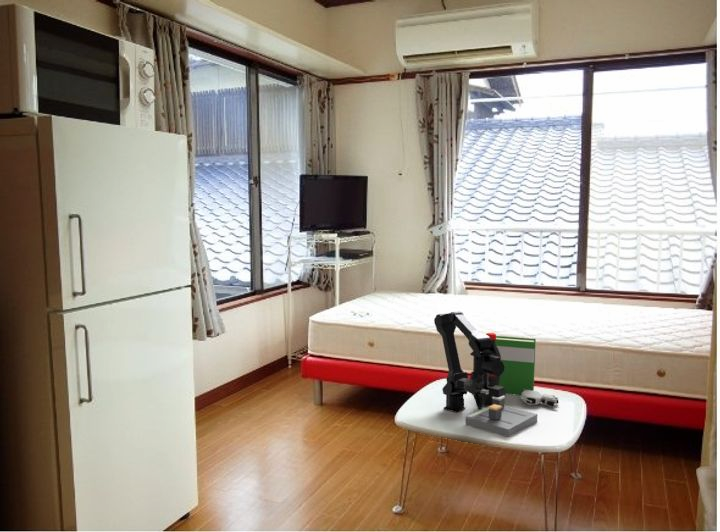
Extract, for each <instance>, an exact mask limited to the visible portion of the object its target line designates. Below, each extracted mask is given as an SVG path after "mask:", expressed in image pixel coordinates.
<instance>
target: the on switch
mask: <svg viewBox="0 0 720 532" xmlns="http://www.w3.org/2000/svg"><path fill="white" fill-rule="evenodd" d="M505 399H506V396H505V395H503V396H501V397H499V398H496V397H492V405H494V404H496V405H500V406H502V408H504V406H505Z"/></svg>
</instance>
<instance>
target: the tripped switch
mask: <svg viewBox="0 0 720 532" xmlns="http://www.w3.org/2000/svg"><path fill="white" fill-rule="evenodd" d="M488 407H489V419H492V420H498V419H500V418H501V412H502V406H500V405H496V404H494V405H491V406H488Z"/></svg>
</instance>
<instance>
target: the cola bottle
mask: <svg viewBox="0 0 720 532" xmlns="http://www.w3.org/2000/svg"><path fill="white" fill-rule="evenodd" d="M485 334H486V335H487V336H489V337H490V338H491V340H492V342H493V345H494V347H495V349H496V353H497V356H496V357H500V360H501V355H500V352H499V350H498V347H497V346H496V342H495V340H496V336H497V334H496V333H494V332H487V333H485ZM485 352H490V351H485ZM481 353H483V352H481ZM499 381H500V376H495V375H492V374H490V375H488V382H490V385H488V387H493V386H496V385H497V386H499ZM491 405H492V396H490V395H489V396H488V397H487V399H486V401H485V403H484V405H483V406H485V407H489V406H491Z"/></svg>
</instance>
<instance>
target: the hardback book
mask: <svg viewBox="0 0 720 532" xmlns="http://www.w3.org/2000/svg"><path fill="white" fill-rule="evenodd" d="M536 341H537V340H536V338H533V337H532V338H531V337H530V338H529V337H519V336H505V335H496V340H495V342H496V346H497V347H498V350H499V352H500V355H501V360H500V361H502V362H503V364H504V367H505V368H504V372H503V373H502V374H501V375H500V381H499V386H501V387H504V388H505V390H506V395H513V394H515V395H516V396H521V393H522V392H523V391H525V390H532V391H535V369H536V368H535V365H536V363H535V362H536V344H537V343H536ZM524 389H525V390H524Z"/></svg>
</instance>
